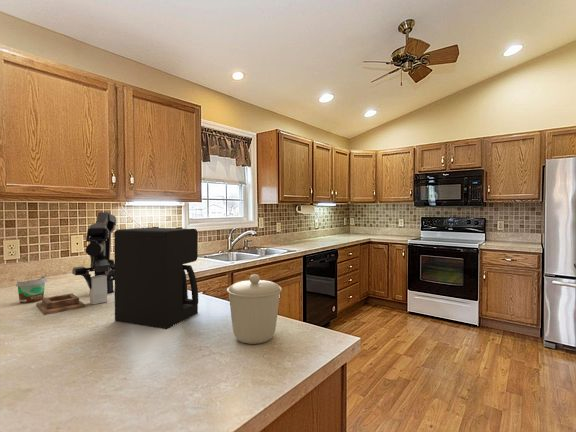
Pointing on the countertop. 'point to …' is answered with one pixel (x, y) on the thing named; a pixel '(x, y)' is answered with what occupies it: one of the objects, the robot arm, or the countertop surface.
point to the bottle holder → (59, 303)
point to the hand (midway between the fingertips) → (98, 287)
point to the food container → (31, 290)
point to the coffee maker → (155, 276)
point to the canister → (254, 309)
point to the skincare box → (98, 289)
